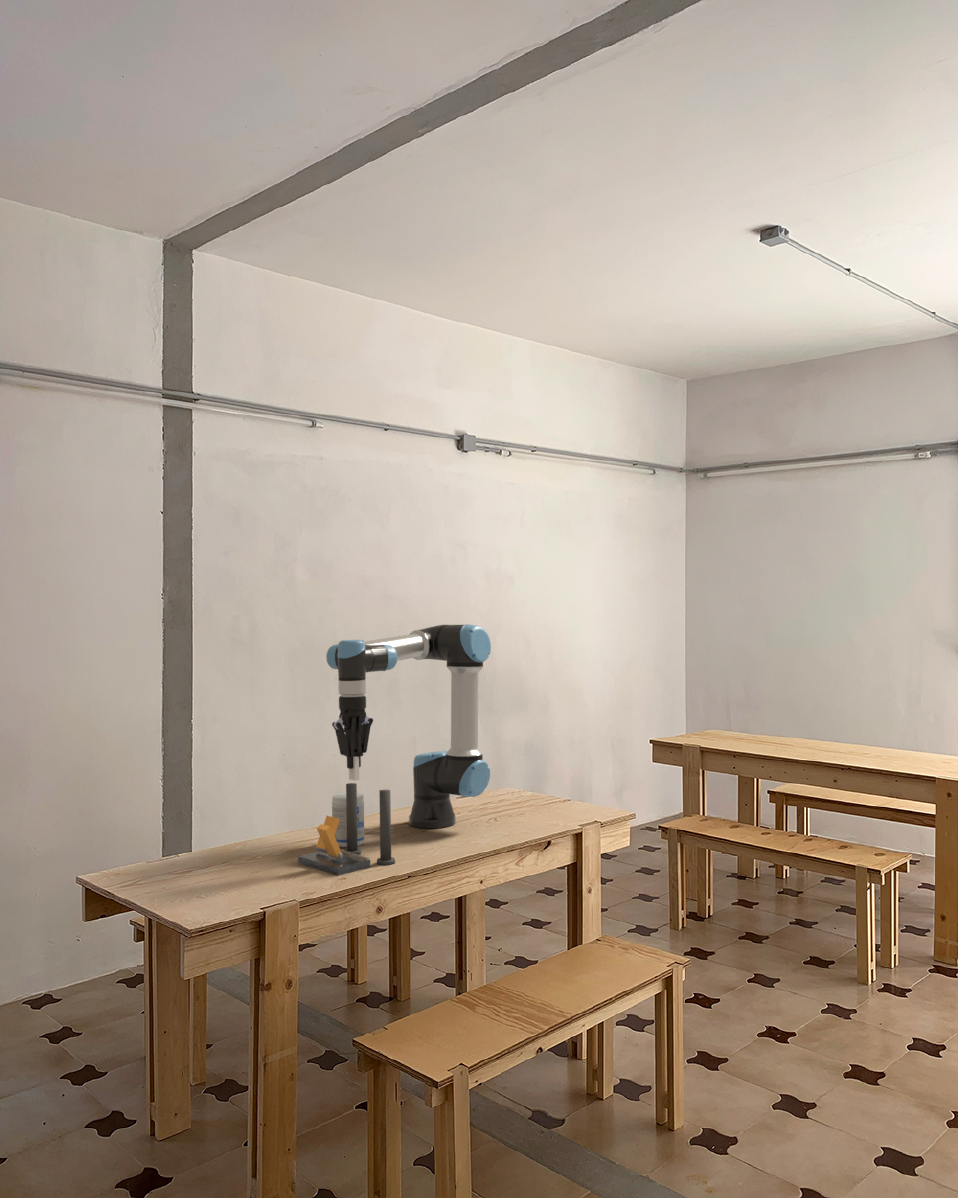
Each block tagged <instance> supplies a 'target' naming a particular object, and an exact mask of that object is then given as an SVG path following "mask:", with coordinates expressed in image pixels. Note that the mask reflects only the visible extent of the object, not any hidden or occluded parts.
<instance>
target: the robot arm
mask: <svg viewBox="0 0 958 1198" xmlns="http://www.w3.org/2000/svg"><path fill="white" fill-rule="evenodd" d="M491 650H492V643H491V639H490V637H489V634H488V632H486V630H485V629H484V628H483V627H481V626H480V625H475V624H439V625H434V626H429V627H425V628H421V629H416V630H413V631H411V632H410V633H409V634H406V635H399V636H393V637H386V638H384V637H383V638H378V639H373V640H367V641H366V640H365V641H364V640H363V639H343V640H340V641H339V642H338V643H337V644H332V645H331V646H329V648H328V650H327V652H326V663H327V665H328V666H329V667H330V668H331V669H332V670H337V671H338V672H337V673H338V694H339V695H340V696H339V697H338V709H339V711H340V713H339V716H338V720H337V721H333V722H332V724H331V727H332V728H333V729H334V731H335V735H336V739H337V744H338V748H339V753H340V756H344V757H346V768H347V769H348V780H349V781H360V768H361V767H362V763H361V762H362V759H361V757H363V756H364V754H366V753H367V751H368V745H369V739H370V738H369V737H370V731H371V727H372V725H373V723H374V719H373V718H372V717H370V716H367V712H366V708H367V696H366V695H365V694H366V693H367V688H366V687H367V685H366V684H367V683H366V681H367V680H366V674H367V673H372V672H373V673H374V672H386V671H390V670H392V669H394V668H395V667H396V665H397V663H398V661H404V660H409V659H414V660H416V661H421V660H436V661H446V668H447V669H448V671H450V673H451V674H450V675H451V677H450V680H451V681H450V683H451V685H450V686H451V687H450V688H451V691H450V693H451V694H450V748H449V749H448V751H447V750H443V751H442V750H441V751H432V752H431V751H430V752H423V753H420V754H417V755H415V757H413V767H412V770H413V773H412V774H413V804H412V807H411V811H410V814H409V816H408V824H409V826H410V827H413V828H418V829H441V828H447V827H452V826H453V825H455V824H456V823H457V822H456V814H455V813H454V812H455V811H454V808H453V806H452V805H453V804H452V803H451V797H450V795H454V796H458V797H459V796H461V797H464V798H475V797H479V796H481V794H483V793H484V792H485V791H486V789H487V787H488V785H489V783H490V780H491V779H490V778H491V768H490V766H489V764H488V762H486V761H484V760H483V752H482V751H481V749H480V748H479V672H480V671H481V670H482V669H483V668H484V662H485V661H487V660H488V659H489V655H490V654H491V652H492V651H491Z"/></svg>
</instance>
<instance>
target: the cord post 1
mask: <svg viewBox="0 0 958 1198" xmlns="http://www.w3.org/2000/svg"><path fill="white" fill-rule="evenodd" d="M357 786H358V785H357V783H356V782H349V783H346V785H345V793H346V815H347V847H346V848H345V849H343V851H347V852H351V853H354V854H358V855H361V854H362V849H361V848H359V846H357V793H358V791H357V789H358V788H357Z"/></svg>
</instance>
